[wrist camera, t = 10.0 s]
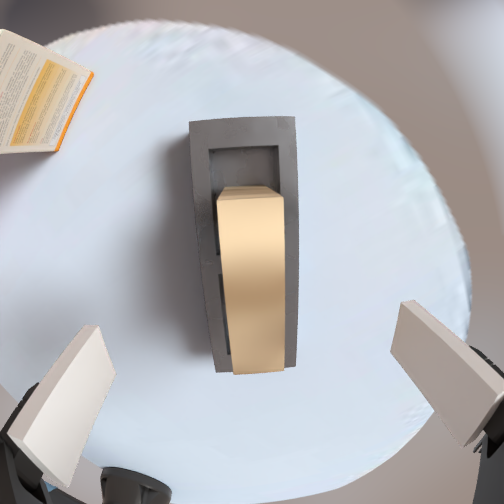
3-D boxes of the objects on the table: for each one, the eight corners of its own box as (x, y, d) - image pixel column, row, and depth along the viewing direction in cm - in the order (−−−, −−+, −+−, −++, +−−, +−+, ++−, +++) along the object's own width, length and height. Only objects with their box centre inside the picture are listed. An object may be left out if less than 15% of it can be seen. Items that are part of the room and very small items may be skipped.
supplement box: (64, 63, 17) (-23, 26, 4) (96, 73, 18) (5, 26, 5) (30, 139, 19) (-68, 142, 6) (58, 154, 20) (-48, 162, 7)
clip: (268, 302, 24) (284, 370, 15) (233, 304, 24) (233, 374, 15) (263, 184, 21) (283, 197, 12) (224, 186, 21) (216, 200, 12)
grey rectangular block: (288, 341, 26) (295, 366, 23) (217, 346, 26) (215, 372, 22) (284, 125, 20) (294, 116, 17) (197, 129, 20) (188, 121, 16)
